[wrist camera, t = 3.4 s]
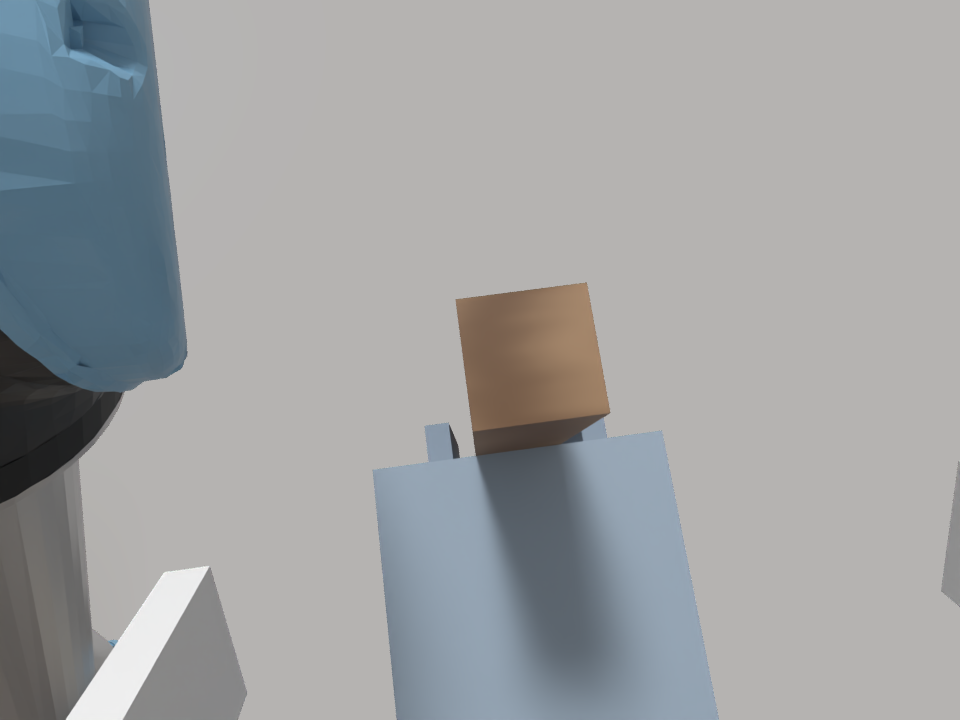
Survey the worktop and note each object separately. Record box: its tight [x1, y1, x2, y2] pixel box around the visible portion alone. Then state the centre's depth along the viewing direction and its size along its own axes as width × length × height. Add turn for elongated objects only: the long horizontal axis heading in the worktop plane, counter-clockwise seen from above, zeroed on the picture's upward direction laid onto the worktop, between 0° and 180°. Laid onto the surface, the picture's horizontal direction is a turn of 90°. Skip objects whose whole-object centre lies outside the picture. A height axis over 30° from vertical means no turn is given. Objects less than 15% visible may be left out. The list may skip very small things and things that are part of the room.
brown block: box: [456, 283, 610, 456], centre depth 28 cm, size 4×24×4 cm, turn 0°
